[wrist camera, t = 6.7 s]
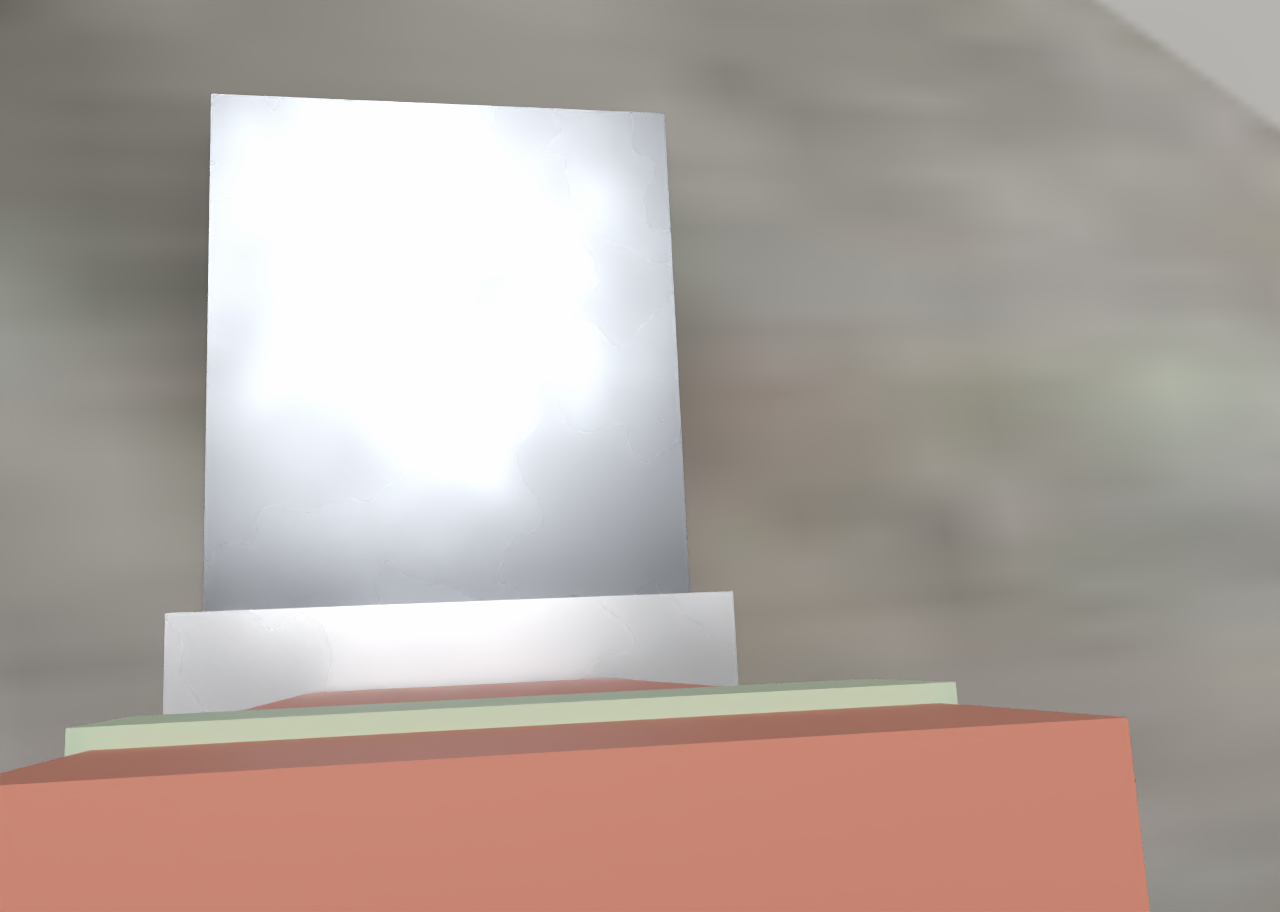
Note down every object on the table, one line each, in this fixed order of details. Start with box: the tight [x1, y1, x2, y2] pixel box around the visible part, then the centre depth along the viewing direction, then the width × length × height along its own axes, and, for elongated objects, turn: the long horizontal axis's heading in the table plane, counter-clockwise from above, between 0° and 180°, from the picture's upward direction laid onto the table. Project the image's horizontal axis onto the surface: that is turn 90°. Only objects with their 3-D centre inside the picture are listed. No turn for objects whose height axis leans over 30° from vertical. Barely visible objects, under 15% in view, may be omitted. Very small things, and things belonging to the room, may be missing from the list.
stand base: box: [163, 94, 738, 715], centre depth 18 cm, size 16×8×4 cm, turn 3°
